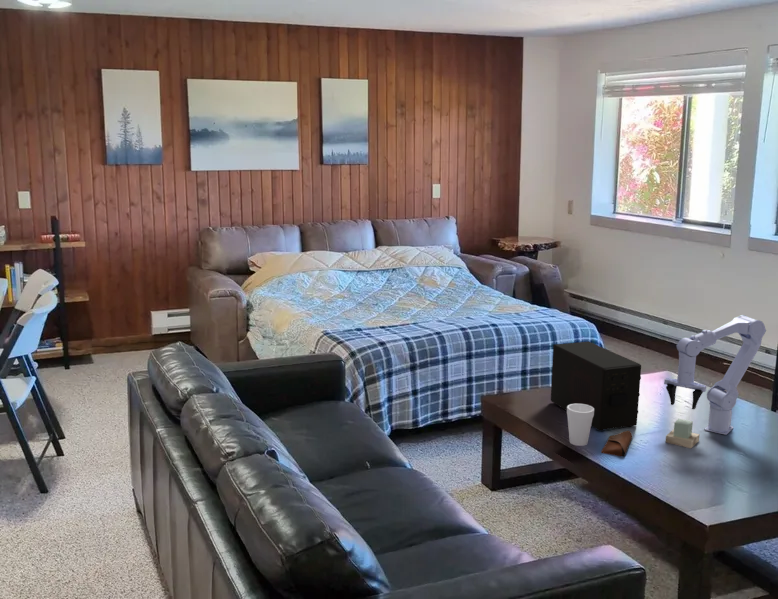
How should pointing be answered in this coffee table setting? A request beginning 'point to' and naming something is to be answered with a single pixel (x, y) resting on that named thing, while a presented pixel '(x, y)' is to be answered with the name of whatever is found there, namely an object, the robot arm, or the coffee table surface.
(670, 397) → the robot arm
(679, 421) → the sage cube
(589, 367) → the black rectangular box
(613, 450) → the sunglasses case
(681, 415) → the coffee table surface
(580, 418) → the foam cup
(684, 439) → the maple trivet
